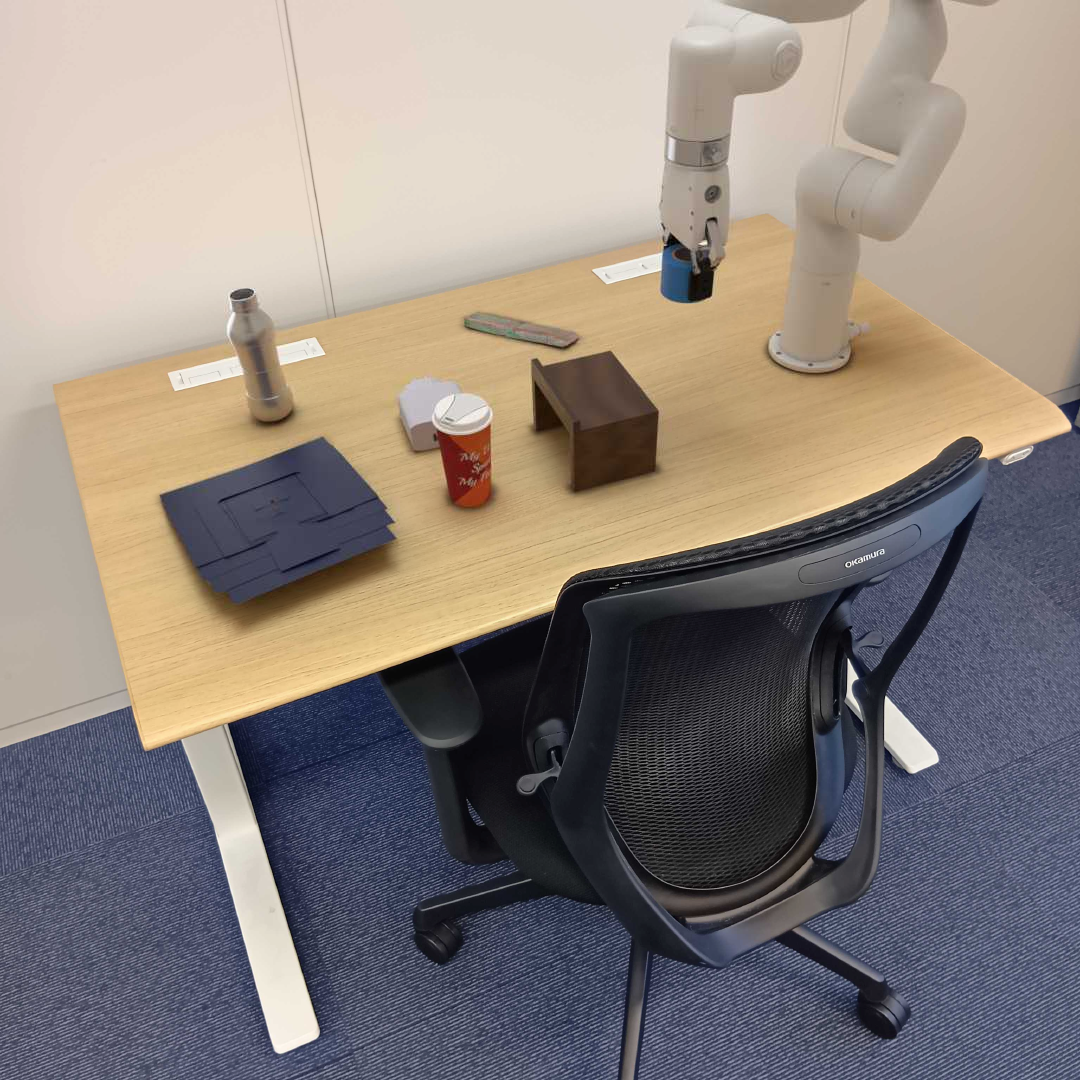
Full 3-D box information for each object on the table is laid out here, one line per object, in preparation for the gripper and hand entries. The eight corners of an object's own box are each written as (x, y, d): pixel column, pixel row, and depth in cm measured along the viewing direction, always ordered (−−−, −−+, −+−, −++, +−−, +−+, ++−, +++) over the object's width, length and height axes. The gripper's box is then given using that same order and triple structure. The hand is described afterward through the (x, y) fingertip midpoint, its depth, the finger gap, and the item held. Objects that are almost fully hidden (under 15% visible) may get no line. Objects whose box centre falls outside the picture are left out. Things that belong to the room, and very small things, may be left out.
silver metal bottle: (305, 412, 147) (276, 292, 134) (267, 433, 144) (234, 311, 130) (279, 396, 151) (249, 277, 137) (242, 416, 147) (207, 296, 134)
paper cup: (477, 519, 128) (469, 433, 119) (430, 500, 131) (418, 414, 122) (510, 486, 133) (504, 400, 124) (464, 469, 136) (455, 384, 127)
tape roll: (697, 274, 130) (700, 238, 127) (720, 297, 125) (724, 260, 122) (651, 284, 129) (653, 247, 125) (674, 307, 124) (676, 270, 120)
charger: (450, 384, 152) (476, 439, 141) (392, 396, 150) (413, 453, 139) (447, 358, 149) (473, 412, 138) (387, 370, 147) (409, 425, 136)
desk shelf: (609, 408, 146) (610, 341, 138) (655, 471, 135) (659, 401, 127) (533, 427, 143) (530, 359, 135) (574, 492, 132) (573, 422, 124)
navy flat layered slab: (225, 629, 113) (216, 606, 111) (163, 512, 135) (155, 490, 133) (414, 550, 122) (409, 527, 120) (328, 452, 144) (323, 430, 142)
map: (472, 314, 168) (471, 309, 168) (581, 333, 161) (581, 328, 160) (457, 328, 165) (457, 323, 164) (568, 348, 157) (568, 343, 157)
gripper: (762, 167, 109) (745, 311, 121) (692, 116, 121) (682, 251, 133) (701, 179, 107) (690, 323, 120) (636, 126, 120) (632, 262, 132)
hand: (686, 284), depth 126 cm, fingers closed on tape roll, 6 cm apart
